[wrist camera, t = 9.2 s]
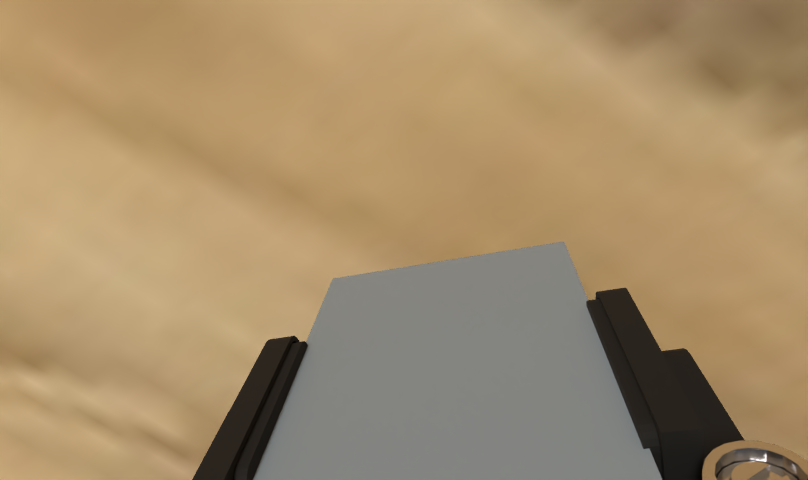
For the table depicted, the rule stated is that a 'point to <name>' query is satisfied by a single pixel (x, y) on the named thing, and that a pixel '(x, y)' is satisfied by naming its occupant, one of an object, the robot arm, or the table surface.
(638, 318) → the robot arm
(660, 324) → the table surface
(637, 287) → the table surface
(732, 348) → the table surface
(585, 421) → the tile
